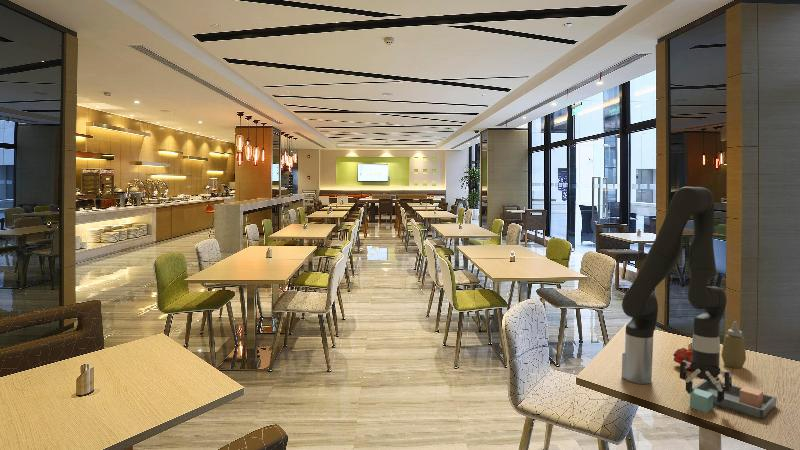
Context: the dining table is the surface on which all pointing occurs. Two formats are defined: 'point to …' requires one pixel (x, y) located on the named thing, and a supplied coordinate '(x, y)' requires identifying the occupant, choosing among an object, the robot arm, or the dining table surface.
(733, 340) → the squeeze bottle
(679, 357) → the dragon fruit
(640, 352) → the robot arm
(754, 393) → the terracotta block
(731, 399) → the tray
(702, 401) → the teal block
